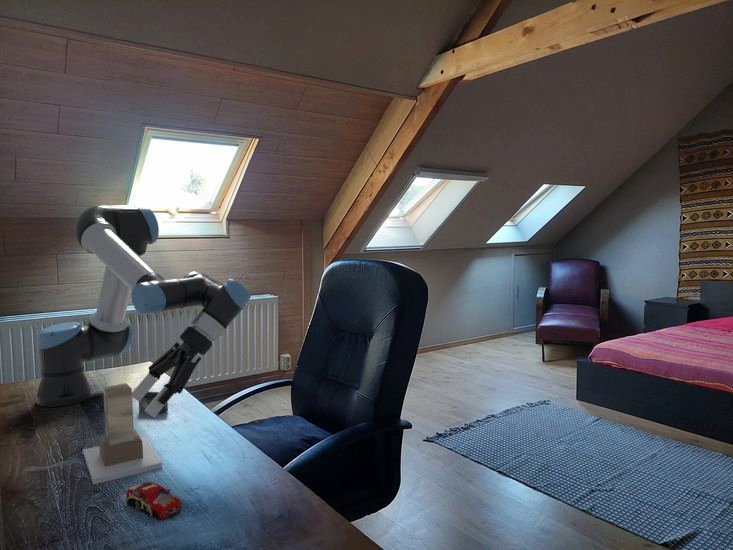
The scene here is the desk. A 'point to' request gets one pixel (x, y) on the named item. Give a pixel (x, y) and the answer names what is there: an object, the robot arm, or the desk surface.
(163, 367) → the robot arm
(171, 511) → the race car
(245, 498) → the desk surface
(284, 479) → the desk surface
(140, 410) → the mini dv tape
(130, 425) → the maple pillar
